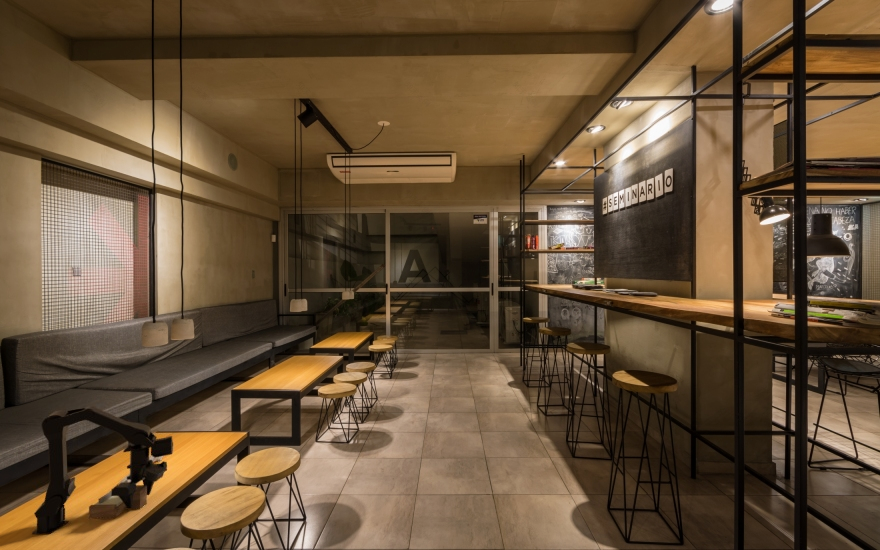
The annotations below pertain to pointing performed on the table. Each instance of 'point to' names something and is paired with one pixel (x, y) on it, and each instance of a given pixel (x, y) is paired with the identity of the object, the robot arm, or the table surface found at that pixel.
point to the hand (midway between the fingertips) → (139, 501)
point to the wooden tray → (106, 510)
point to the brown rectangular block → (139, 497)
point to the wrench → (149, 459)
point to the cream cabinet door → (109, 500)
